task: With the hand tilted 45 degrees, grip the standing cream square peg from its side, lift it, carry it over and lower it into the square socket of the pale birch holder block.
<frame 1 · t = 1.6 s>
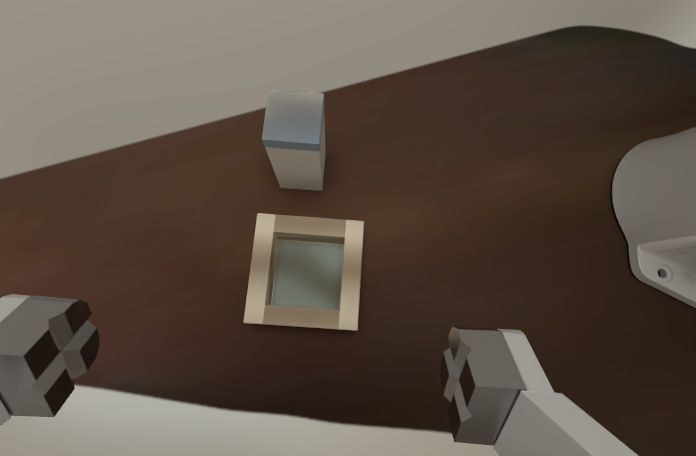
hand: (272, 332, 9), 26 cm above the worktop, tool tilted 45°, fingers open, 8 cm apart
holder: (308, 275, 35), on the worktop
peg: (303, 169, 38), on the worktop
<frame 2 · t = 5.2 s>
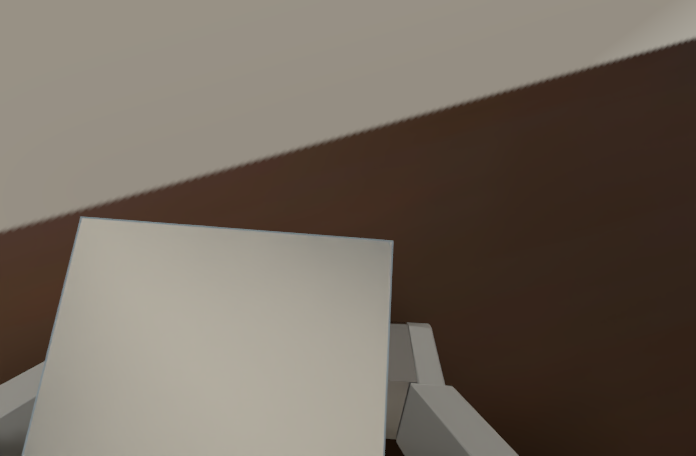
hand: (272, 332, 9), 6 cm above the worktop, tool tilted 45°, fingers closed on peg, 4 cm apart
peg: (292, 347, 14), on the worktop, touching gripper
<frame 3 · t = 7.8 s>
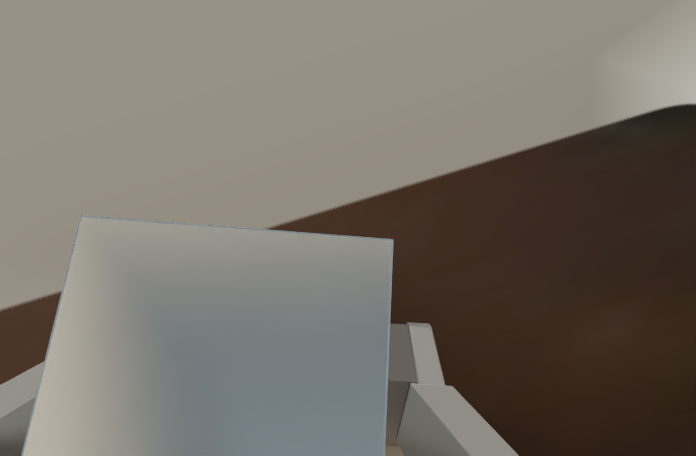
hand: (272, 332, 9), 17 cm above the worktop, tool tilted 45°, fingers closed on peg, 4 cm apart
peg: (292, 347, 14), point 12 cm above the worktop, touching gripper
when the fingers open (9 cm above the worktop, at t = 10.8 s): peg drops 2 cm, resting on holder.
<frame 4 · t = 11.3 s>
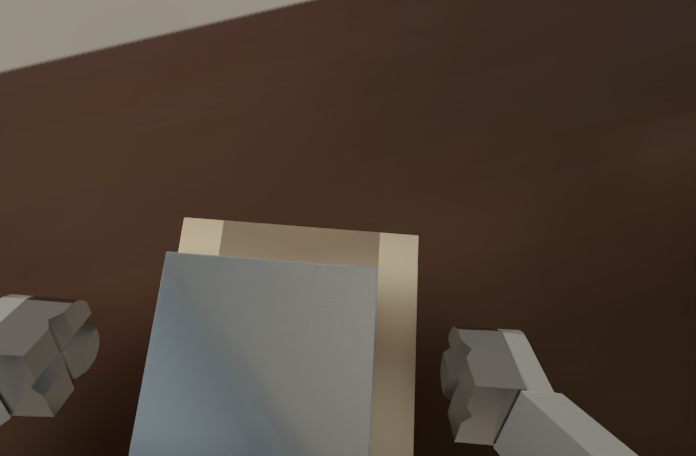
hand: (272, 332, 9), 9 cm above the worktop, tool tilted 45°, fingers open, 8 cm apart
holder: (297, 344, 17), on the worktop
peg: (299, 344, 17), point 1 cm above the worktop, touching holder
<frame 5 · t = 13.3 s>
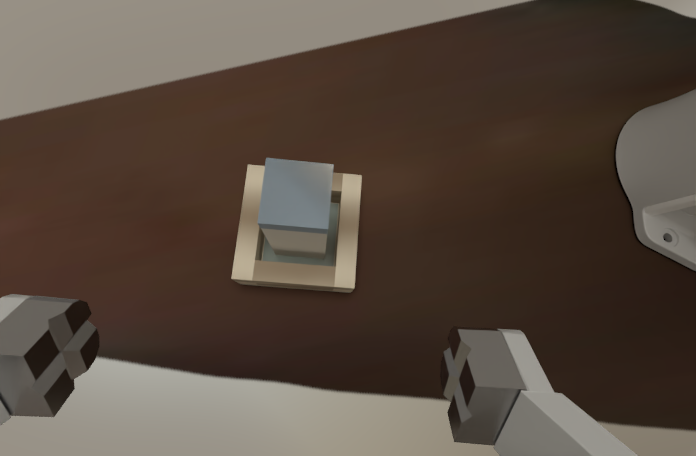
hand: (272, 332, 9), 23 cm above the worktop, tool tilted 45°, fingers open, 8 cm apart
holder: (301, 235, 33), on the worktop
peg: (302, 233, 32), point 1 cm above the worktop, touching holder
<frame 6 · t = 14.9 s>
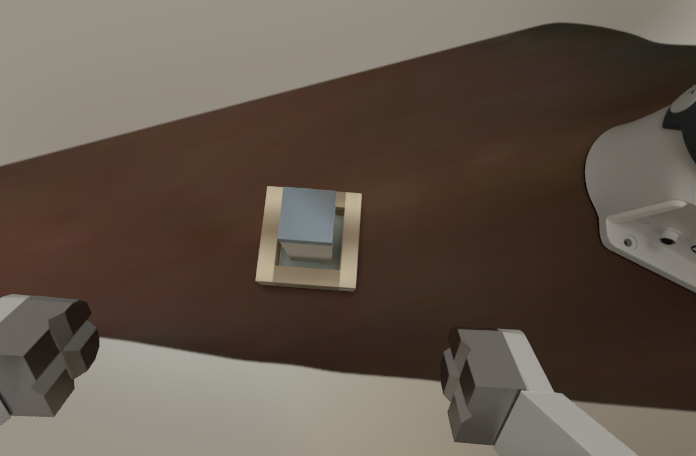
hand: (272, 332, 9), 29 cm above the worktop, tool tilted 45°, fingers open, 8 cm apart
holder: (312, 243, 39), on the worktop
peg: (313, 242, 39), point 1 cm above the worktop, touching holder
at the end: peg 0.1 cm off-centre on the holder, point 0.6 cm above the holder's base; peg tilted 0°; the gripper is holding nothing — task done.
